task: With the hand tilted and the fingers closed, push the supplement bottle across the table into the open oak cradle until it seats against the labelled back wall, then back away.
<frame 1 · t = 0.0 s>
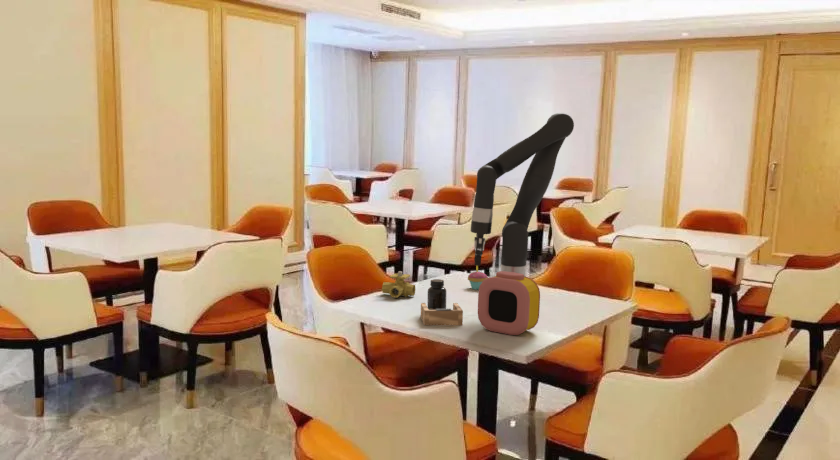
hand: (477, 263, 271), 17 cm above the table, tool pointing down, fingers open, 8 cm apart
supplement bottle: (436, 313, 265), on the table
cradle: (440, 320, 255), on the table
cupcake: (477, 288, 311), on the table
ball valve: (397, 297, 291), on the table
alarm clock: (507, 331, 244), on the table
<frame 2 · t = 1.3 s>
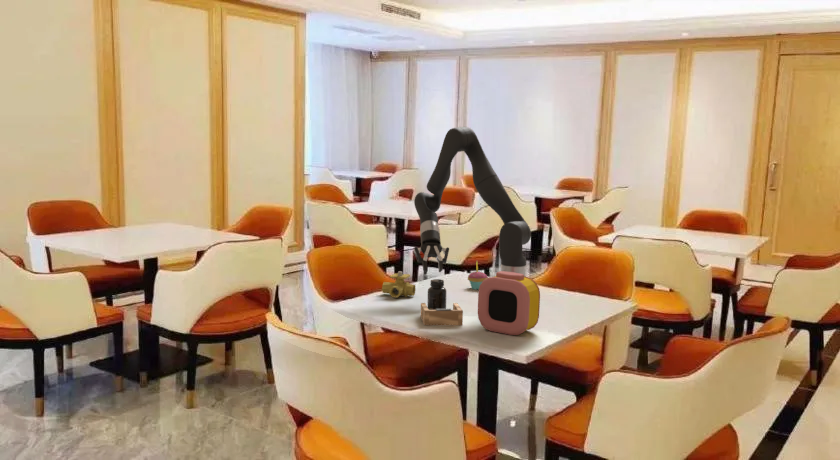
hand: (433, 270, 276), 13 cm above the table, tool tilted 45°, fingers open, 4 cm apart
nothing on the table moved.
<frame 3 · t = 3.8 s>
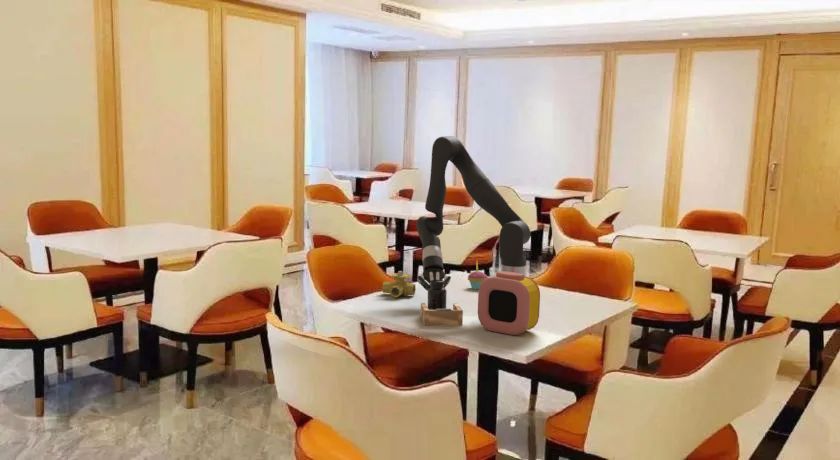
hand: (435, 299, 268), 4 cm above the table, tool tilted 45°, fingers closed
supplement bottle: (436, 313, 265), on the table, touching gripper
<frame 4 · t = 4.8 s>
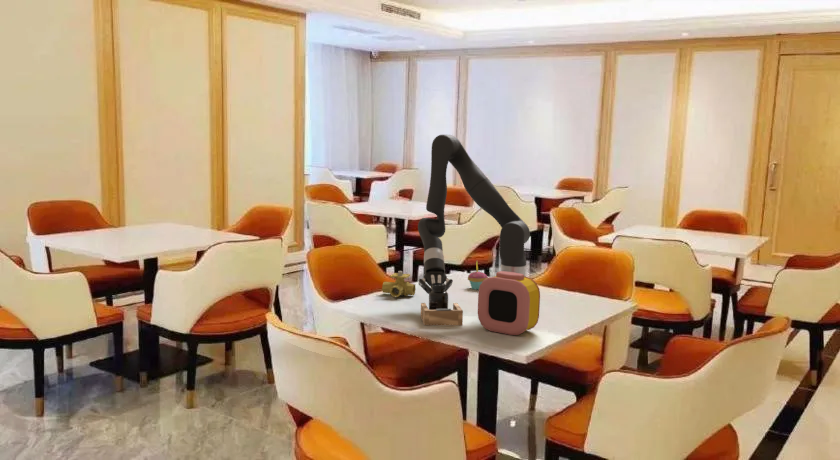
hand: (437, 302, 262), 4 cm above the table, tool tilted 45°, fingers closed
supplement bottle: (438, 317, 259), on the table, touching gripper
everything else where it was.
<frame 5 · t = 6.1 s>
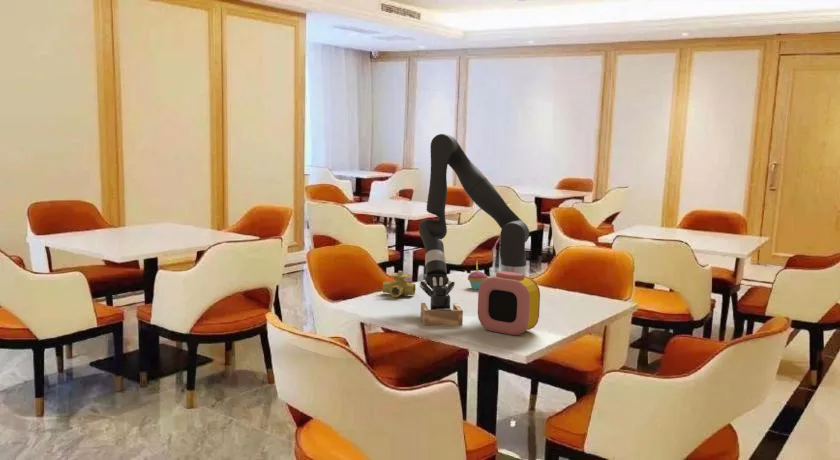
hand: (438, 305, 258), 4 cm above the table, tool tilted 45°, fingers closed
supplement bottle: (439, 321, 255), on the table, touching gripper
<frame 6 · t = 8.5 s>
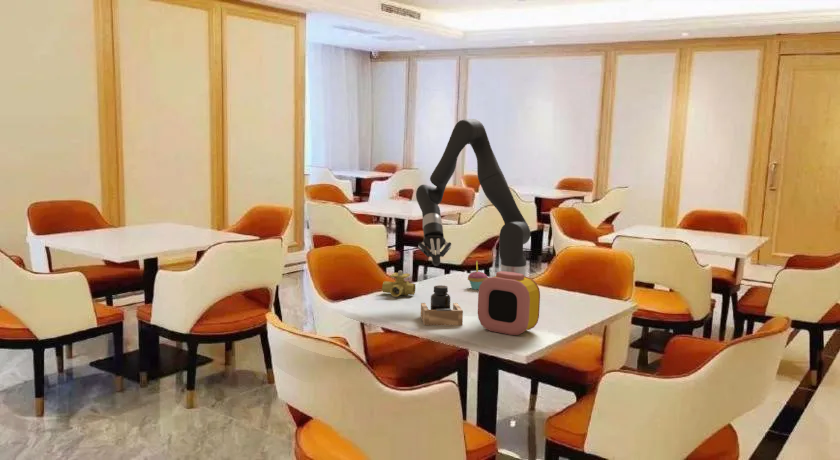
hand: (436, 264, 269), 17 cm above the table, tool tilted 45°, fingers closed
supplement bottle: (440, 321, 255), on the table
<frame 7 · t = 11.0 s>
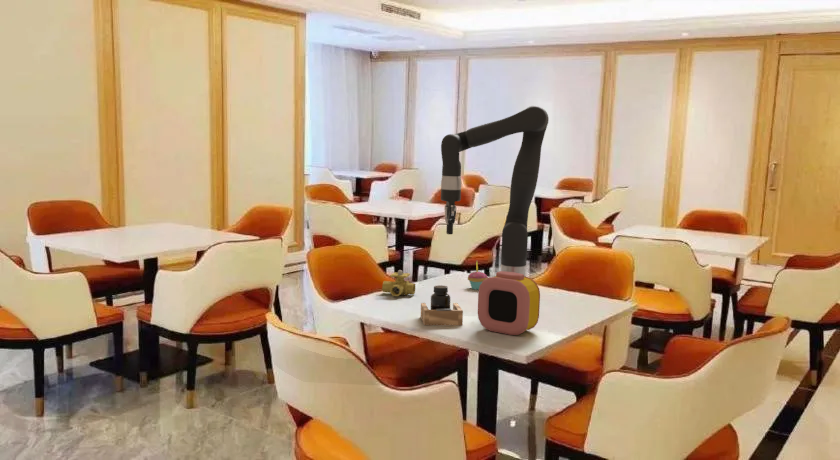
hand: (449, 234, 276), 27 cm above the table, tool pointing down, fingers closed
at the end: supplement bottle 0.3 cm from the cradle (horizontally); supplement bottle tilted 0° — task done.
